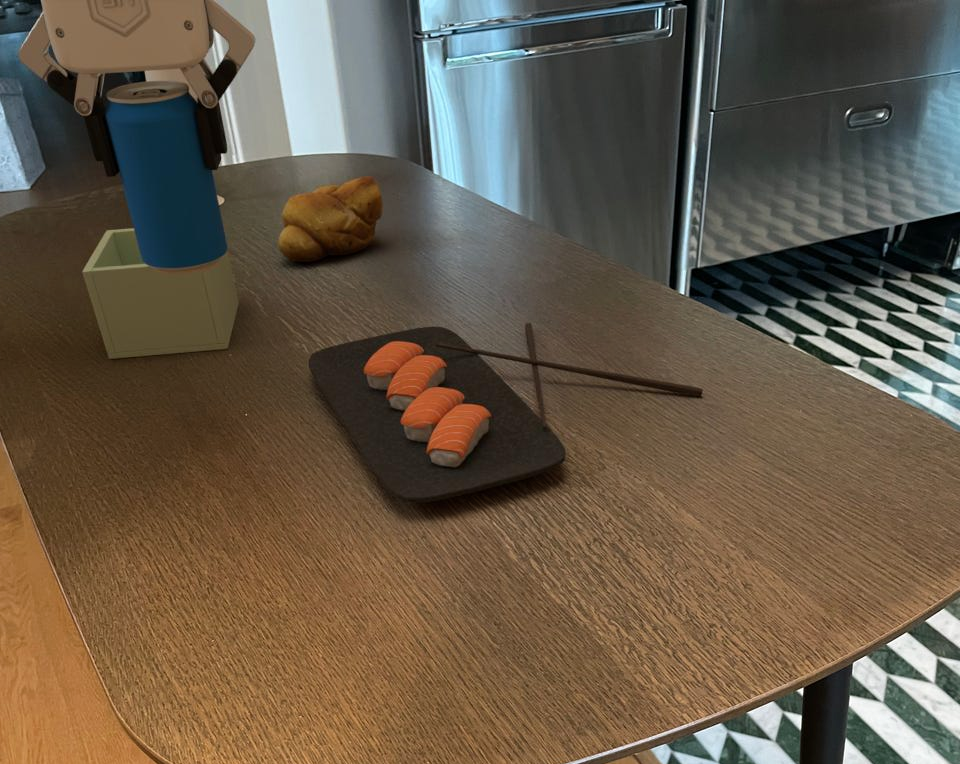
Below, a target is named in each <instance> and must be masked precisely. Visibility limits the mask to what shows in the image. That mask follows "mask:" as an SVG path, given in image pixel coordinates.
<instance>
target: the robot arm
mask: <svg viewBox="0 0 960 764" xmlns="http://www.w3.org/2000/svg"><path fill="white" fill-rule="evenodd" d="M40 3H41V7H42V12H41V14H40V16H39V17H38V18H37V20H36V22H35V24H34V25H33V27H32V28H31V29H30V31H29V33H28V35H27V36H26V38H25V40H24V41H23V43H22V45H21V46H20V48H19V50H18V51H17V56H18V57H17V58H18V59H19V61H20V62H21V63H22V64H23V65H24V66H25V67H27V68H28V69H29V70H30V71H32V72H33V73H34V74H35V75H36V76H37V77H39V78H40V79H41V80H43V81H44V82H46V83H47V85H48V86H49V88H50V89H51V90H53V91H54V92H55V93H56V94H58V95H59V96H60V97H61V98H63V100H65V101H66V102H68V103H69V105H71V106H72V107H74V110H75V111H76V113H77V114H79V115H80V116H82V117H83V120H84V124H85V127H86V131H87V135H88V139H89V142H90V146H91V149H92V153H93V156H94V159H95V161H96V162H102V165H103V169H104V171H105V175H106V177H107V178H112V177H113V178H114V177H116V176H117V175H119V174H120V172H119V168H118V164H117V161H116V157H115V153H114V149H113V145H112V141H111V137H110V133H109V129H108V126H107V122H106V118H105V112H106V108H107V106H108V104H105V102H104V98H102V94H103V87H104V81H105V74H115V73H133V72H135V73H136V72H145V71H151V70H167V69H179V68H180V70H181V71H182V73H183V74H184V76H185V78H186V79H187V81H188V82H189V84H190V86H191V87H192V89H193V90H194V92H195V94H196V95H197V97H198V98H197V101H198V108H197V109H196V111H195V115H196V120H197V125H198V130H199V135H200V140H201V144H202V149H203V154H204V159H205V164H206V168H209V170H212V171H218V169H219V167H220V164H221V162H222V155H224V154H227V153H228V143H227V136H226V131H225V126H224V121H223V115H222V111H221V106H220V100H221V99H222V97H223V96H224V94H225V93H226V91H227V90H228V88H229V87H230V86H231V84H232V82H233V81H234V80H235V78H236V77H237V75H238V73H239V71H240V70H241V68H242V67H243V65H244V63H245V62H246V60H247V59H248V57H249V56H250V54H251V52H252V51H253V49H254V47H255V45H256V36H255V35H254V34H253V33H252V32H251V31H250V30H249V29H248V28H247V27H246V26H245V25H244V24H242V23H241V22H240V21H238V20H237V18H235V17H234V16H233V15H231V14H230V13H229V12H228V11H227V10H225V8H223V7H222V6H221V5H220V4H218V3H217V2H216V1H215V0H40ZM214 31H215V32H216V33H217V34H219V35H220V36H221V38H223V39H224V40H225V41H226V42H227V44H228V50H227V52H226V53H225V55H224V57H223V58H222V59H221V61H220V62H219V64H218V66H217V67H216V68H215V70H214V71H213V70H212V69H211V67H210V65H209V63H208V62H207V60H206V59H205V58H206V57H207V55H208V54H209V51H210V49H211V48H212V47H213V45H214V39H215V38H214V37H215V35H214ZM50 47H51V49H52V50H53V54H54V57H55V59H56V60H55V59H54V58H53V57H52V56H51V55H50V53H49V48H50ZM56 61H57V62H56ZM73 73H76V74H77V76H75V74H73Z"/></svg>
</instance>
